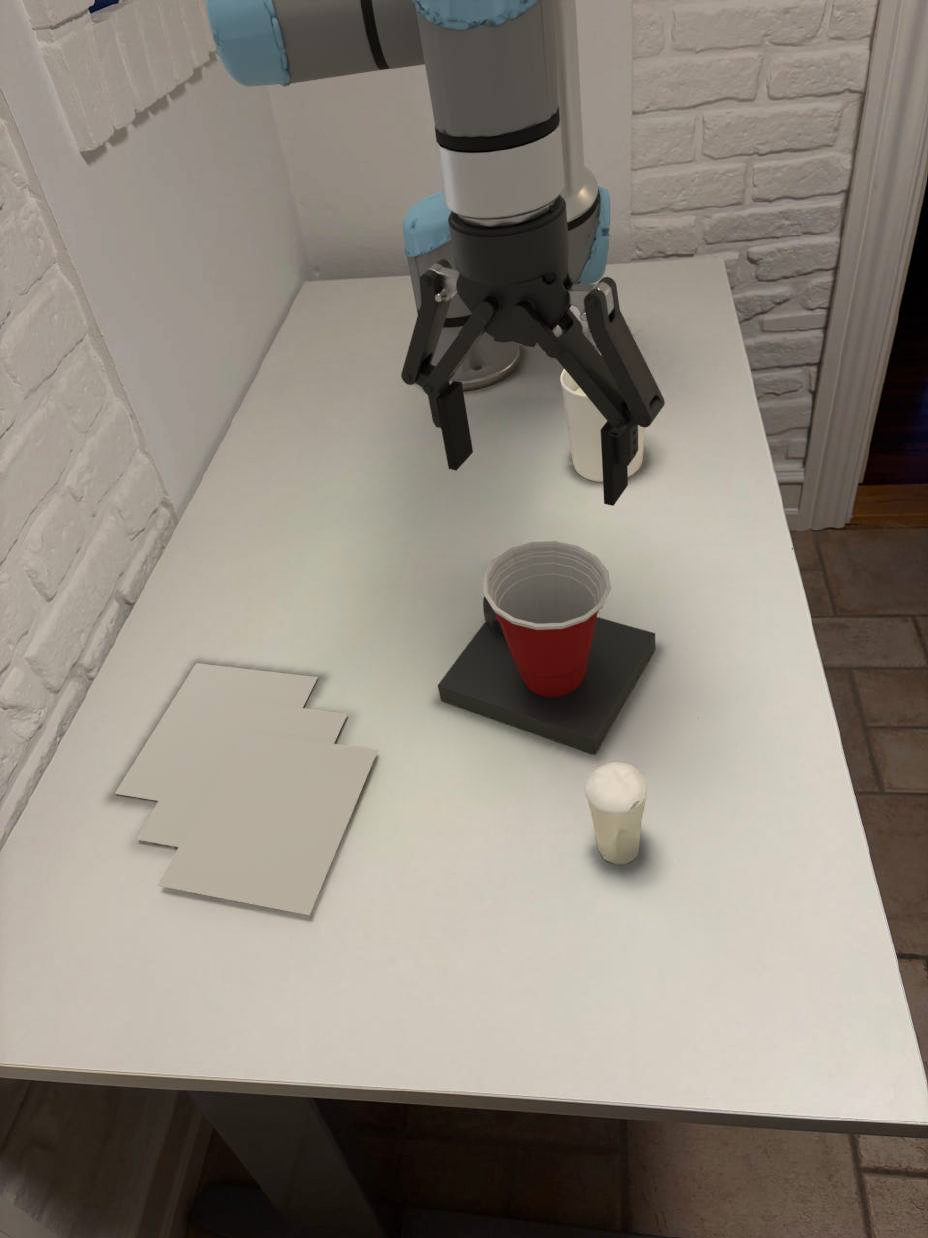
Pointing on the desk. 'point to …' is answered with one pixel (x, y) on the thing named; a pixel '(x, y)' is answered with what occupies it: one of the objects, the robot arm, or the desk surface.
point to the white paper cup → (589, 432)
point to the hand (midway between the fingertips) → (535, 477)
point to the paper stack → (248, 787)
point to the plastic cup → (548, 610)
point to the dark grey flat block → (573, 719)
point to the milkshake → (616, 810)
